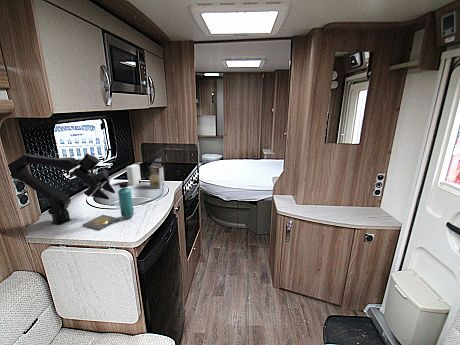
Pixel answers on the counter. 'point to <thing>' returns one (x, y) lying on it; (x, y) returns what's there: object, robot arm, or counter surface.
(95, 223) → the coupling plate
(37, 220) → the counter surface
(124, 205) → the beverage bottle
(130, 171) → the skincare box
